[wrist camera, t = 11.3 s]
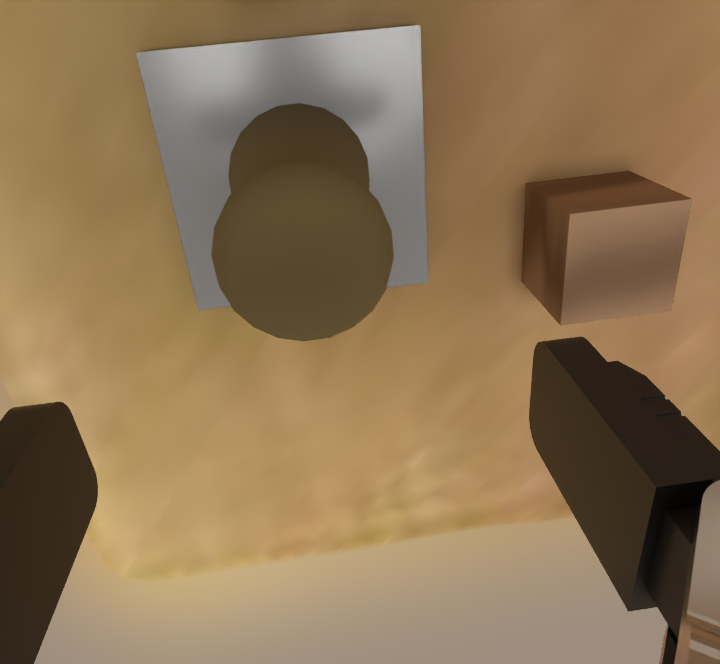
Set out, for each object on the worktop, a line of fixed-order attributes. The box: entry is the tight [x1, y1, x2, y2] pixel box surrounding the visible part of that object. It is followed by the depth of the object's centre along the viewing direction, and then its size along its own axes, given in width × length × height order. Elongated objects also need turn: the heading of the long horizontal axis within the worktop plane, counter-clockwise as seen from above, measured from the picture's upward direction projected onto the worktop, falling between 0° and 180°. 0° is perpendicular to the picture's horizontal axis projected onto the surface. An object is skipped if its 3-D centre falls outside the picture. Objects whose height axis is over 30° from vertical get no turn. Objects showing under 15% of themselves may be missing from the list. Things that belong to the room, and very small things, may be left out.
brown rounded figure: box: [211, 103, 394, 341], centre depth 20 cm, size 6×6×11 cm
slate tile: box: [136, 25, 428, 310], centre depth 25 cm, size 11×11×1 cm
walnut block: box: [521, 171, 692, 325], centre depth 26 cm, size 5×5×5 cm
